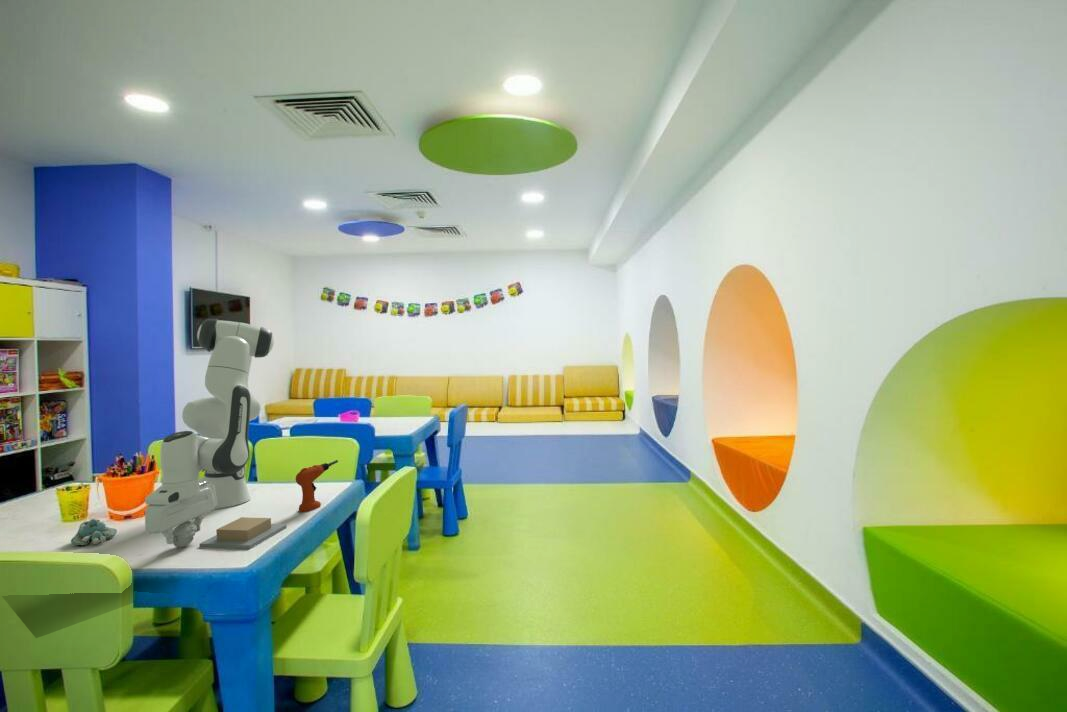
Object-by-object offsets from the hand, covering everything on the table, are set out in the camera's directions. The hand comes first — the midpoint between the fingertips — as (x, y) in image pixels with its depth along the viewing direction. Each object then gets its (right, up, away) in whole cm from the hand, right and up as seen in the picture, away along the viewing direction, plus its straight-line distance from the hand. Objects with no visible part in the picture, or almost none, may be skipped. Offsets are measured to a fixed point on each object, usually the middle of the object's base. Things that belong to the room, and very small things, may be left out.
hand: (183, 537), depth 145 cm
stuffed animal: (-31, -4, +7) cm, 32 cm away
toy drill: (+24, -1, +35) cm, 42 cm away
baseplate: (+14, -2, +6) cm, 15 cm away
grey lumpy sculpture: (0, -3, 0) cm, 3 cm away
